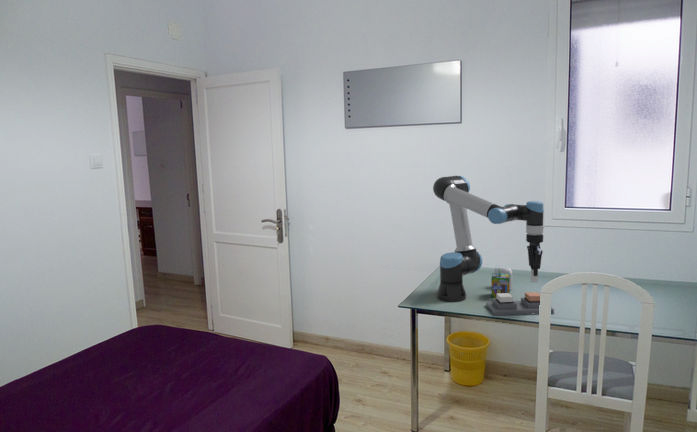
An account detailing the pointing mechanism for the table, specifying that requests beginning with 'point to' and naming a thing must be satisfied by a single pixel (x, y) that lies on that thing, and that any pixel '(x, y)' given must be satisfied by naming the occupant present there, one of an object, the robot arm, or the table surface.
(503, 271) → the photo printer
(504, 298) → the white key
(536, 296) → the terracotta key
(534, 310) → the key panel
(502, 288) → the chalk box
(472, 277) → the table surface
